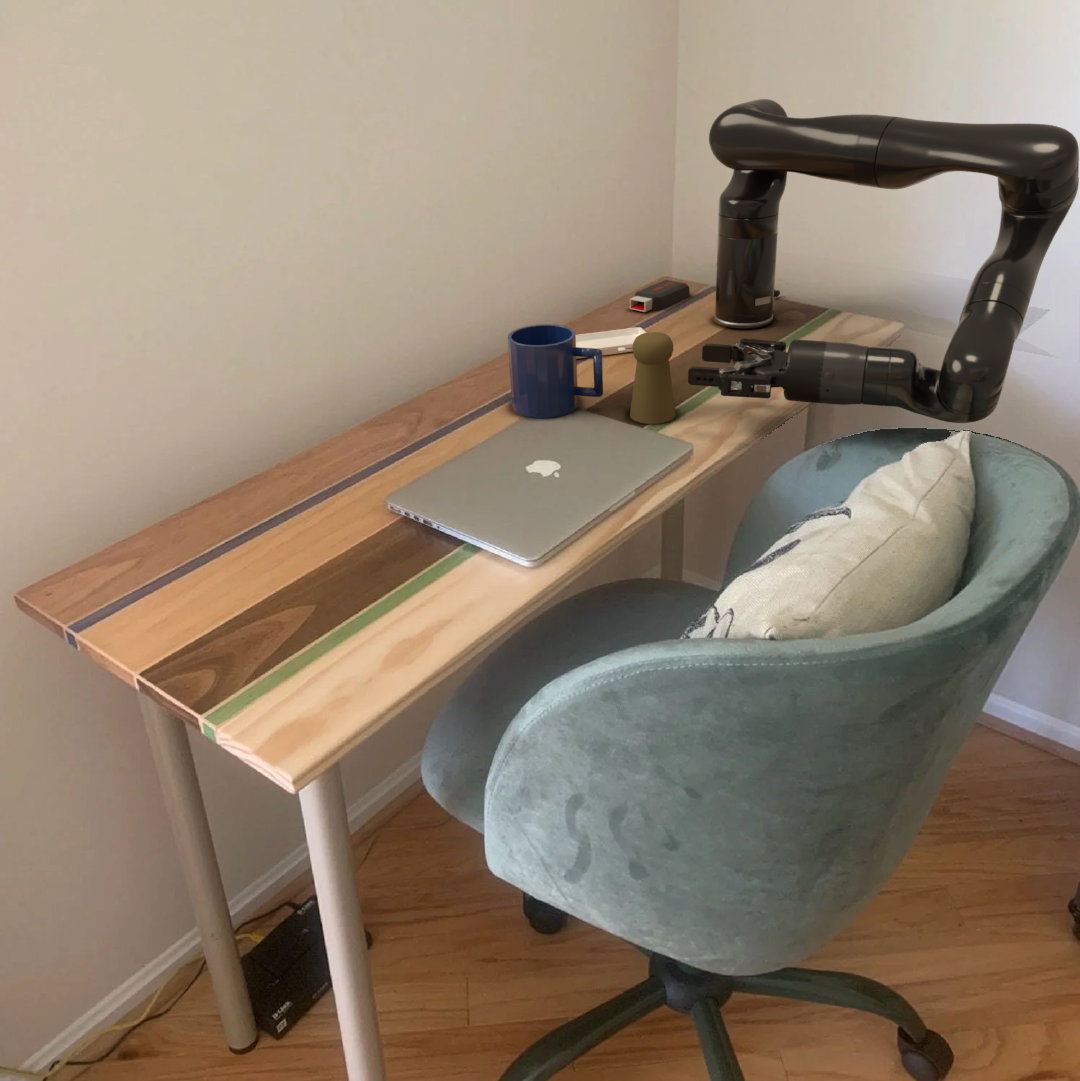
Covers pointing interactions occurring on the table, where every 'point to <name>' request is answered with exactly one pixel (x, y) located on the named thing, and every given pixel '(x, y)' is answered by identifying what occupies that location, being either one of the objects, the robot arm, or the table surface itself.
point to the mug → (548, 370)
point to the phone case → (609, 340)
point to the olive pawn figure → (652, 379)
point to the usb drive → (659, 295)
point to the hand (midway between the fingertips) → (696, 363)
